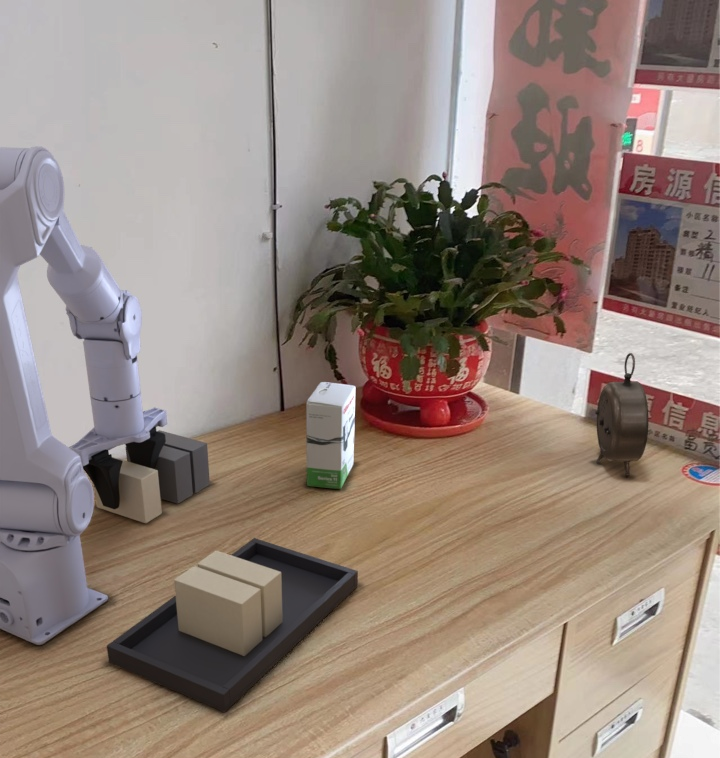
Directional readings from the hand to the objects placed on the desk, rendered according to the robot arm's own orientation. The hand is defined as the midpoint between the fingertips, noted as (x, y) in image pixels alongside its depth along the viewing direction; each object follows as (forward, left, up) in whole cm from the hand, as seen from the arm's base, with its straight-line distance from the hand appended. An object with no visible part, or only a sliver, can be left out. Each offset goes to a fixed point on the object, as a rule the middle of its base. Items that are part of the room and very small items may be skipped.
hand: (127, 497), depth 109 cm
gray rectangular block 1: (+6, 0, -2) cm, 6 cm away
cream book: (0, 0, -2) cm, 2 cm away
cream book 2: (-12, -26, -1) cm, 29 cm away
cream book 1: (-16, -26, -1) cm, 30 cm away
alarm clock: (+46, -48, -2) cm, 67 cm away
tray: (-12, -26, -2) cm, 29 cm away
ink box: (+22, -16, -2) cm, 27 cm away
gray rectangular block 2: (+9, 0, -2) cm, 10 cm away
